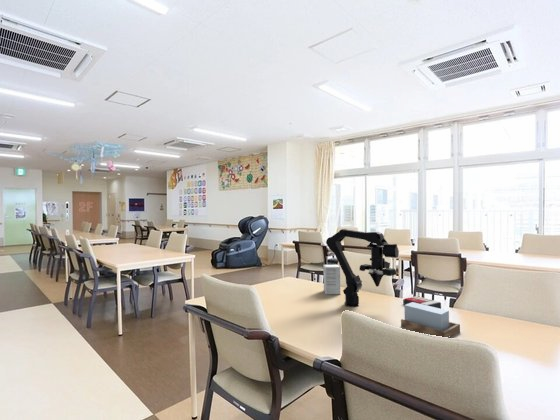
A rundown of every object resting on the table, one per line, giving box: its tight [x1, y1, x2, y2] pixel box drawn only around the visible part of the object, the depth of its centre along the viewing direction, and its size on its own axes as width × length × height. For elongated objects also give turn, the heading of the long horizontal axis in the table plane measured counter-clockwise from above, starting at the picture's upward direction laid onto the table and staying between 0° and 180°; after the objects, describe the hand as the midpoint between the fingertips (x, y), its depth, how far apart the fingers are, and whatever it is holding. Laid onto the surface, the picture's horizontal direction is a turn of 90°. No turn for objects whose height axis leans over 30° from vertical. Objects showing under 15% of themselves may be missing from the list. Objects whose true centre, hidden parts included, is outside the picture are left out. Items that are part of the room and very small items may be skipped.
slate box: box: [403, 302, 450, 332], centre depth 133 cm, size 16×7×9 cm, turn 39°
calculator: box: [402, 295, 442, 309], centre depth 162 cm, size 11×4×15 cm
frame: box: [400, 318, 461, 338], centre depth 132 cm, size 18×14×3 cm
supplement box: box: [322, 264, 341, 295], centre depth 191 cm, size 10×9×17 cm
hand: (377, 286), depth 158 cm, fingers closed
